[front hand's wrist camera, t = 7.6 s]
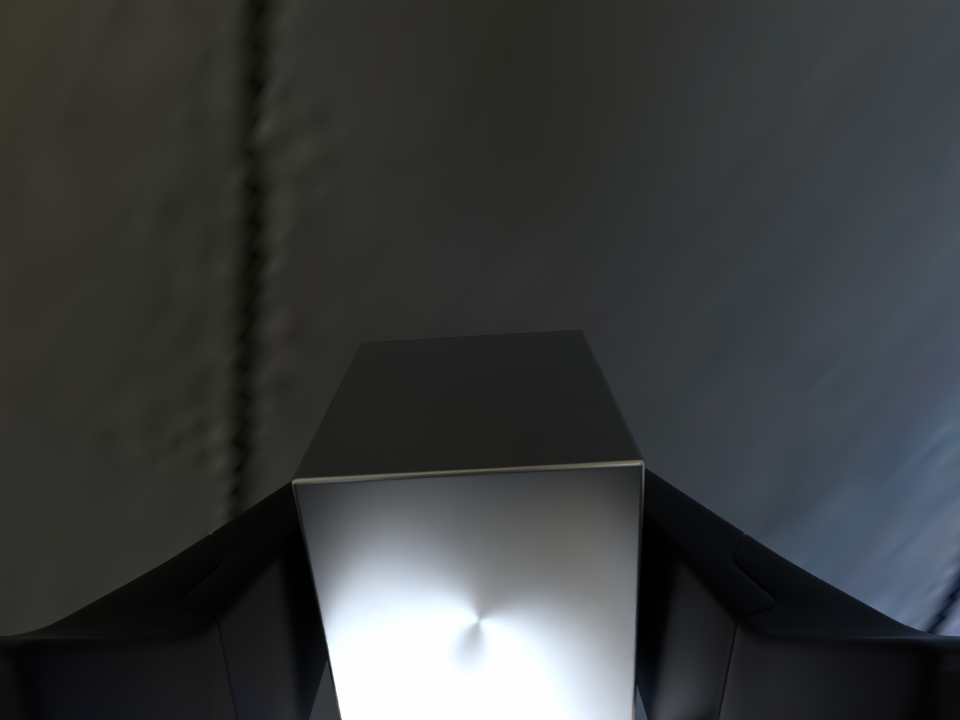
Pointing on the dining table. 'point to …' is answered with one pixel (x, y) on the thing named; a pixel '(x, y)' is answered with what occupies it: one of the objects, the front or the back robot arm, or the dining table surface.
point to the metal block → (476, 532)
